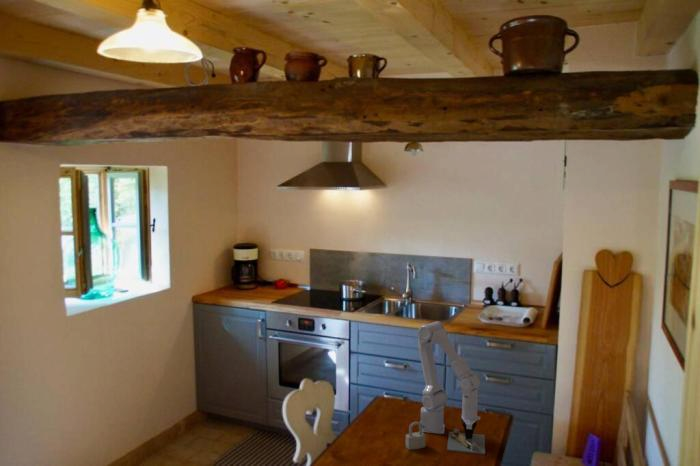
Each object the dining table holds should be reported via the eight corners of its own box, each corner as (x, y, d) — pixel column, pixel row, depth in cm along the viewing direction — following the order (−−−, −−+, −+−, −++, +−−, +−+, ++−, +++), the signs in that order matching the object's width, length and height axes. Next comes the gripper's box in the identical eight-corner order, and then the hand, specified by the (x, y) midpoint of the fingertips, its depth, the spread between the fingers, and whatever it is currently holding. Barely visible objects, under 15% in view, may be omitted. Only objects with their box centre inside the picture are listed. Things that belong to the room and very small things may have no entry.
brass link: (449, 434, 227) (449, 432, 227) (457, 433, 228) (457, 430, 228) (466, 447, 216) (466, 445, 216) (474, 446, 217) (474, 443, 217)
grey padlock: (421, 443, 221) (421, 418, 220) (426, 447, 218) (426, 422, 217) (404, 446, 219) (404, 421, 218) (409, 450, 215) (409, 425, 214)
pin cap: (453, 433, 225) (453, 430, 225) (453, 431, 227) (453, 428, 227) (459, 434, 224) (459, 431, 224) (459, 431, 226) (459, 428, 226)
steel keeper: (465, 445, 218) (465, 439, 218) (469, 444, 219) (470, 438, 218) (471, 450, 214) (471, 444, 214) (476, 449, 215) (476, 443, 215)
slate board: (447, 450, 215) (447, 449, 215) (449, 432, 230) (449, 431, 230) (485, 454, 212) (485, 453, 212) (484, 436, 227) (484, 434, 227)
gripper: (480, 414, 213) (479, 448, 214) (480, 399, 227) (479, 431, 228) (461, 412, 214) (460, 446, 216) (462, 397, 228) (461, 430, 230)
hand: (468, 439), depth 222 cm, fingers closed, pressing on brass link
